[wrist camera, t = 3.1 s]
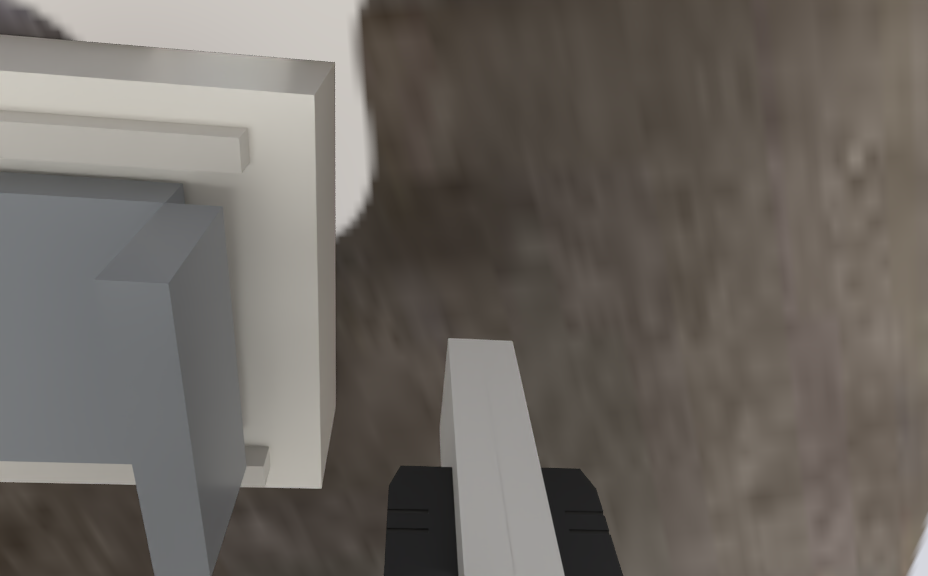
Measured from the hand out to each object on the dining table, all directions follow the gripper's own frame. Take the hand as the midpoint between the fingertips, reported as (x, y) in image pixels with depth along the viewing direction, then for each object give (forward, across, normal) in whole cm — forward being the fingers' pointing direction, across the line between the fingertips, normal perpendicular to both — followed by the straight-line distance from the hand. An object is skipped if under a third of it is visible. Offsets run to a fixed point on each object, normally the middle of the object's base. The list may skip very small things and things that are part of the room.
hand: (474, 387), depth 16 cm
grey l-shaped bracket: (+2, -9, 0) cm, 10 cm away
